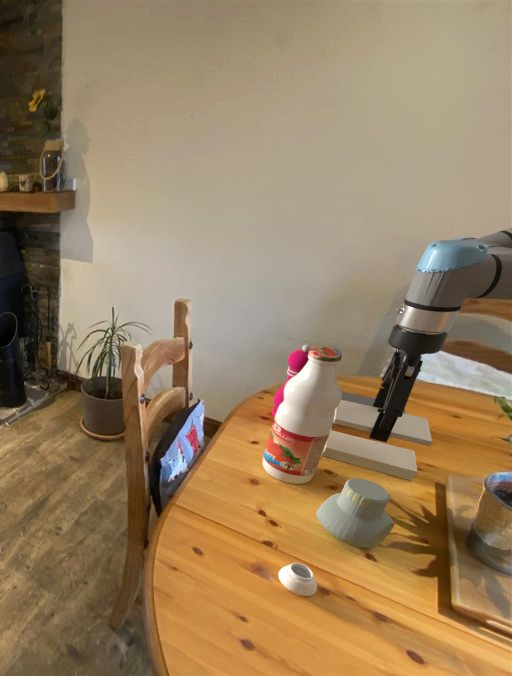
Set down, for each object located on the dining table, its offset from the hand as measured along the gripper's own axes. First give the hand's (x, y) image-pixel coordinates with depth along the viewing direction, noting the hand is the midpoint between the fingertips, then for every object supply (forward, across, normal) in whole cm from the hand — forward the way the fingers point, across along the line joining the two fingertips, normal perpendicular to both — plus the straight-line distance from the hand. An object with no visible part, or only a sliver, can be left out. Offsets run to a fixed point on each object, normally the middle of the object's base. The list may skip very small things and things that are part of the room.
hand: (377, 427), depth 88 cm
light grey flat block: (+8, 0, 0) cm, 8 cm away
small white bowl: (+8, +44, -8) cm, 45 cm away
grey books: (+8, -18, 0) cm, 20 cm away
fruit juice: (+8, +14, -13) cm, 21 cm away
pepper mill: (+8, -10, -16) cm, 21 cm away
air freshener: (+8, +27, -2) cm, 28 cm away
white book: (-1, 0, 0) cm, 1 cm away
